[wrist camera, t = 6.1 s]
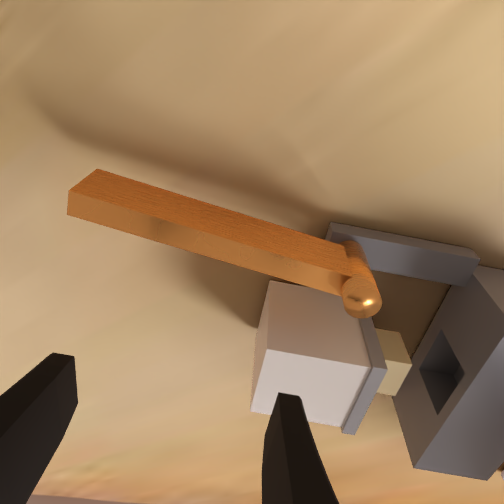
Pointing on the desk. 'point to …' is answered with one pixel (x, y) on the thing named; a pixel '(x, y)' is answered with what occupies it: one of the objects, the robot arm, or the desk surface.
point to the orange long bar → (228, 237)
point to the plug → (323, 357)
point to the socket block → (448, 355)
